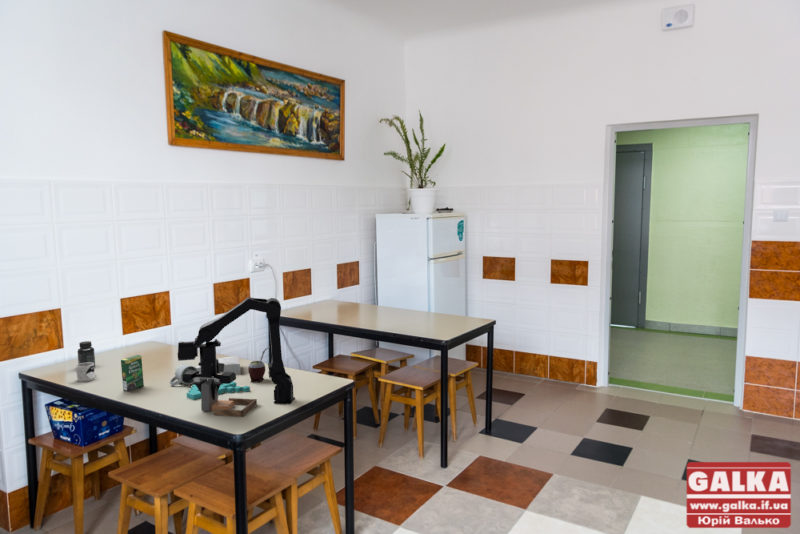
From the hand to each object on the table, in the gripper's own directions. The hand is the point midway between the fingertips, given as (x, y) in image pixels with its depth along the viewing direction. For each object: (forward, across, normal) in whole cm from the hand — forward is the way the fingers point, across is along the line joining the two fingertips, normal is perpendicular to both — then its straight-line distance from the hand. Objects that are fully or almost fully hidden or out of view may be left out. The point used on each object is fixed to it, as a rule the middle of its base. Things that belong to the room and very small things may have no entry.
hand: (210, 399), depth 218 cm
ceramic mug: (+4, +26, -26) cm, 37 cm away
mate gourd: (+4, -5, -34) cm, 34 cm away
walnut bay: (+3, -10, 0) cm, 10 cm away
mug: (+3, +70, -27) cm, 75 cm away
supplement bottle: (+3, +82, -41) cm, 91 cm away
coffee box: (+4, +42, -17) cm, 46 cm away
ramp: (+4, +19, -47) cm, 51 cm away
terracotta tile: (+4, -4, -1) cm, 6 cm away
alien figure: (+4, +7, -17) cm, 19 cm away
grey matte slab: (+3, 0, 0) cm, 3 cm away
